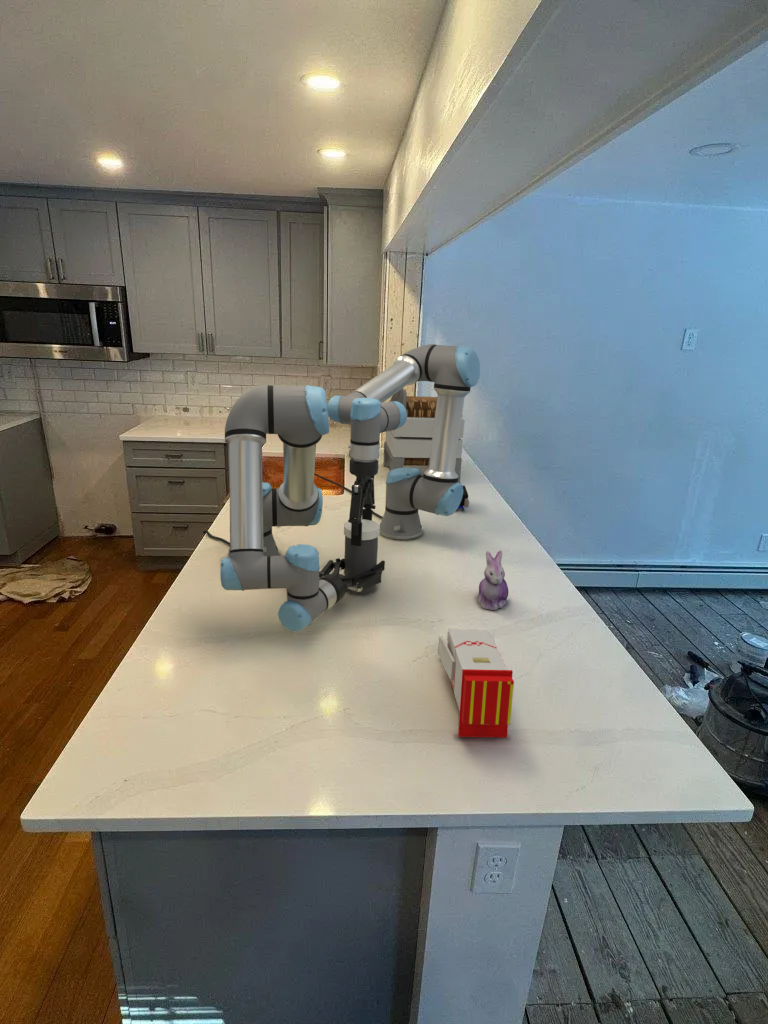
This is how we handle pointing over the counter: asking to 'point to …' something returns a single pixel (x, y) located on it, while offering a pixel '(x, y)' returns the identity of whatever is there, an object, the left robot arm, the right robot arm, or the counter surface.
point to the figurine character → (464, 499)
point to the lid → (364, 529)
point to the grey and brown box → (415, 434)
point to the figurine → (493, 584)
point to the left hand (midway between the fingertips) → (368, 561)
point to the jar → (360, 560)
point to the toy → (478, 682)
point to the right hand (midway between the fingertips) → (361, 537)
